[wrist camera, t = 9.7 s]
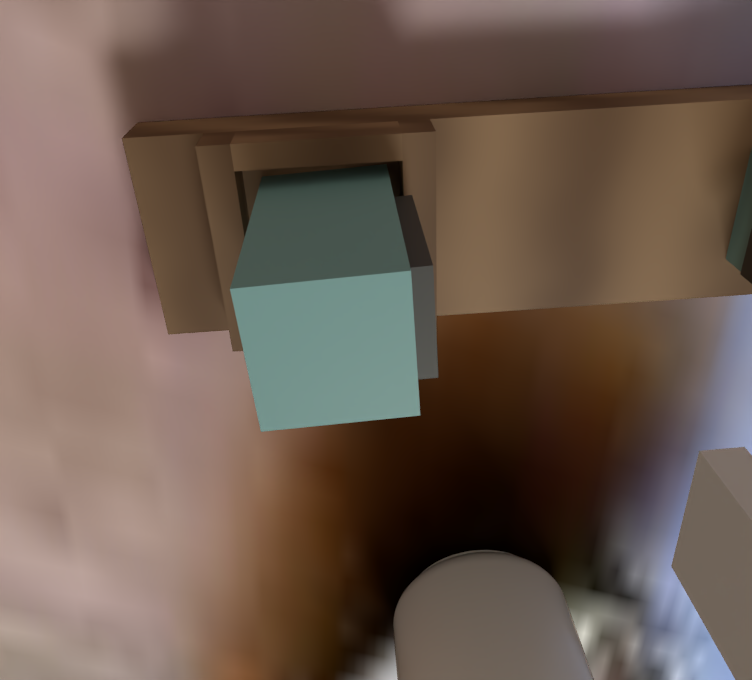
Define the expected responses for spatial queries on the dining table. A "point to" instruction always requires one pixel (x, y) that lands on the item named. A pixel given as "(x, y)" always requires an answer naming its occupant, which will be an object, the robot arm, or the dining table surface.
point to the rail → (477, 196)
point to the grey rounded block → (486, 622)
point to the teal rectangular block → (335, 300)
